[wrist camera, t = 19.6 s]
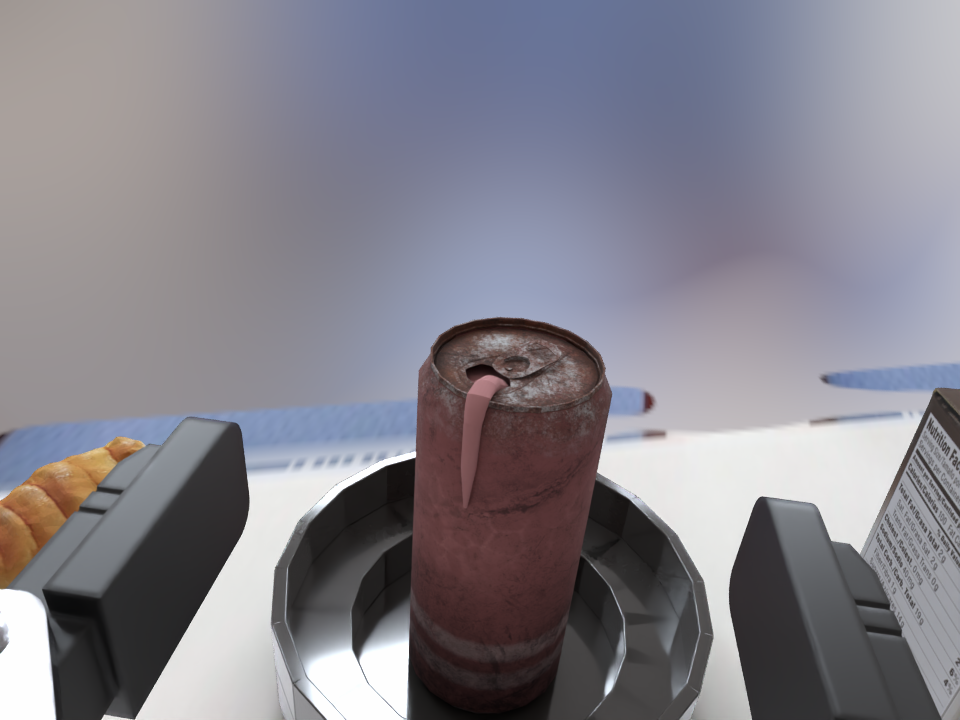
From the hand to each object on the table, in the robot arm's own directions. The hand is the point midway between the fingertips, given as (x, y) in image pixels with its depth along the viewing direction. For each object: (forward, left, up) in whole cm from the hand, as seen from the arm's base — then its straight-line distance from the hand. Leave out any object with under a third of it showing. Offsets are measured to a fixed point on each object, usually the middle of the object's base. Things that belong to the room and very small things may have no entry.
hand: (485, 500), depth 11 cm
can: (0, -11, -18) cm, 21 cm away
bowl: (0, -11, -18) cm, 21 cm away
